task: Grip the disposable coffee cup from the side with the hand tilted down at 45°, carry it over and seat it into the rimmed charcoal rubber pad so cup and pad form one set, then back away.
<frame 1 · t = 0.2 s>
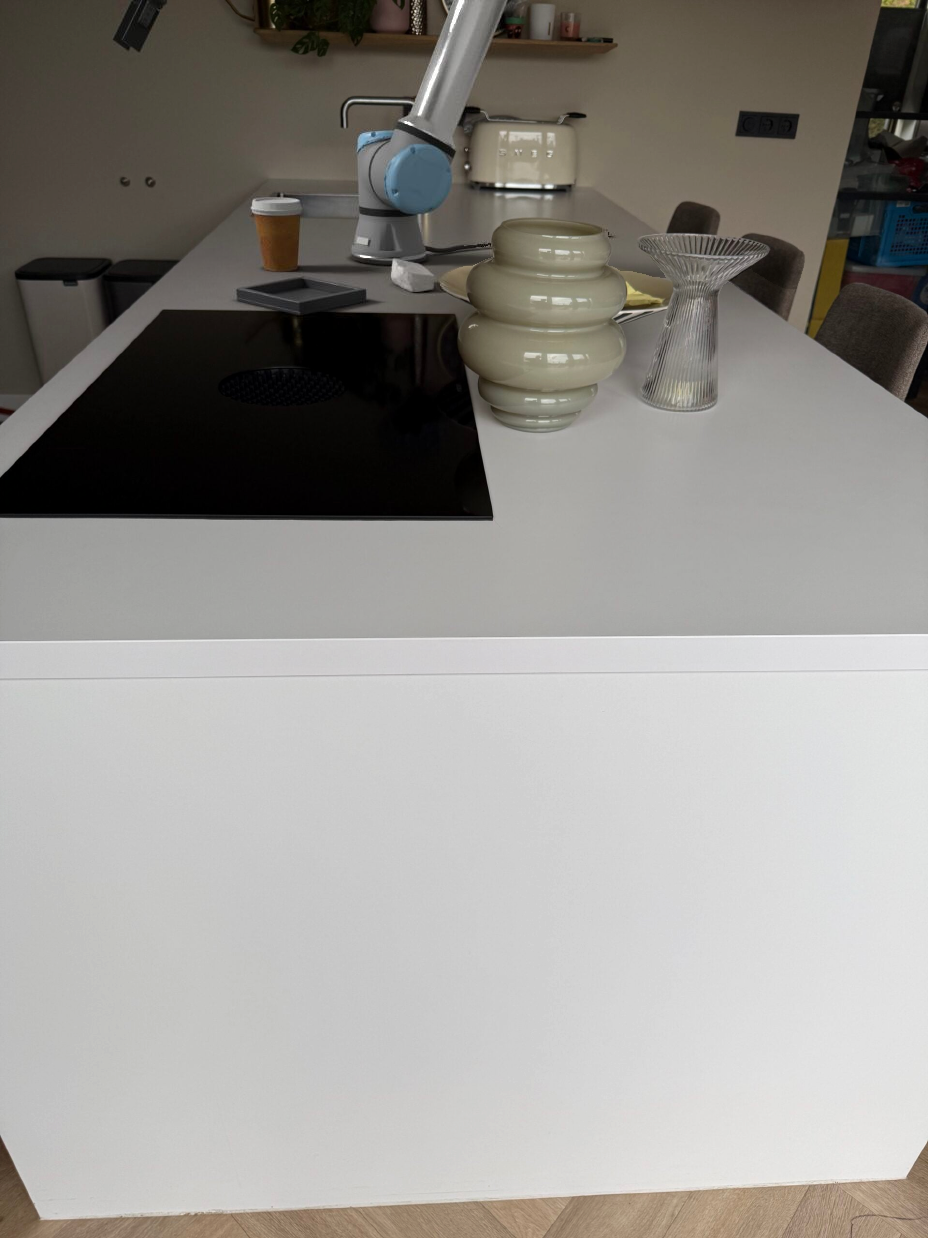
hand: (125, 45, 143), 35 cm above the table, tool tilted 35°, fingers open, 13 cm apart
disposable coffee cup: (281, 269, 176), on the table
pad: (302, 300, 152), on the table
white rock: (412, 288, 164), on the table
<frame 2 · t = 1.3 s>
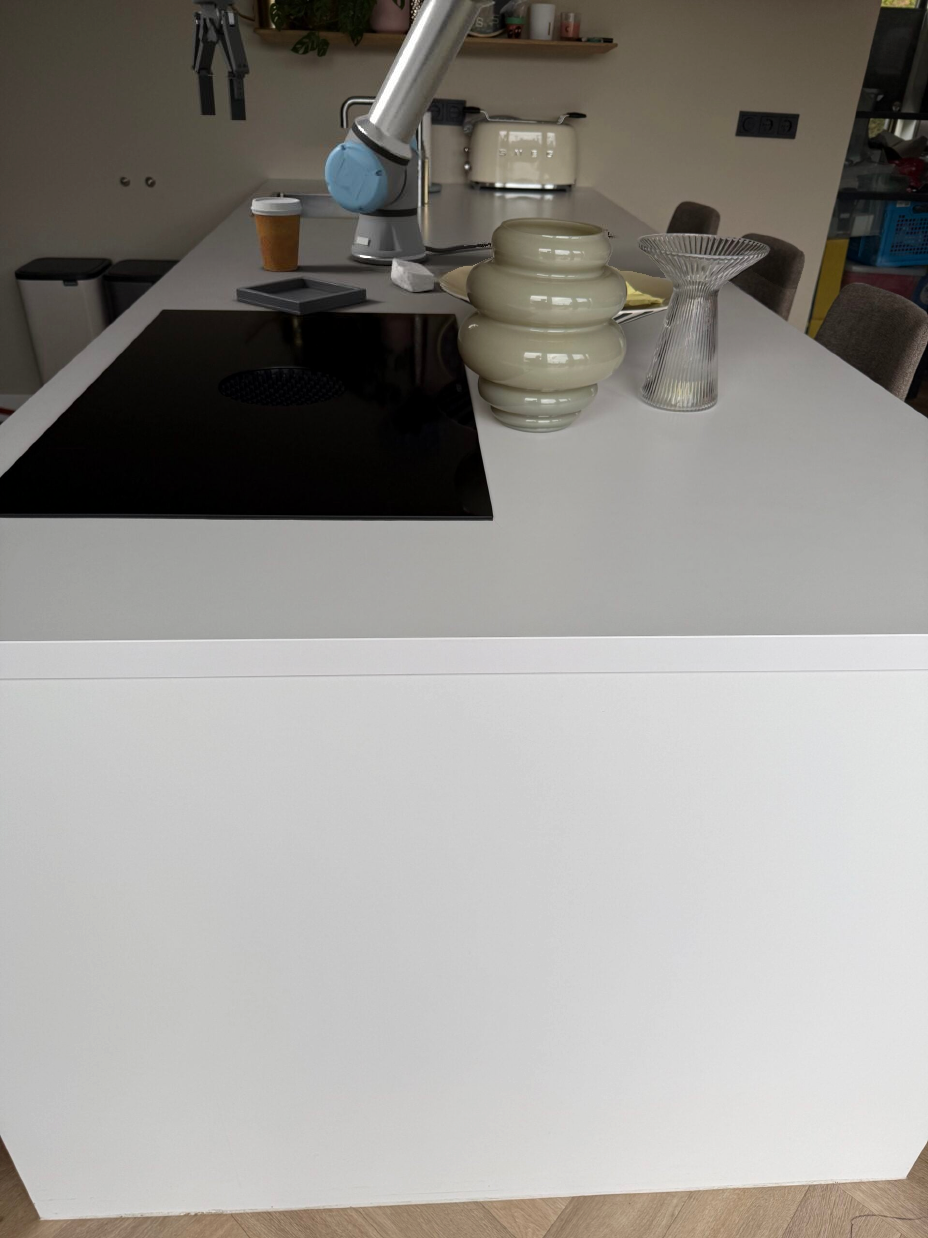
hand: (222, 117, 169), 25 cm above the table, tool pointing down, fingers open, 13 cm apart
nothing on the table moved.
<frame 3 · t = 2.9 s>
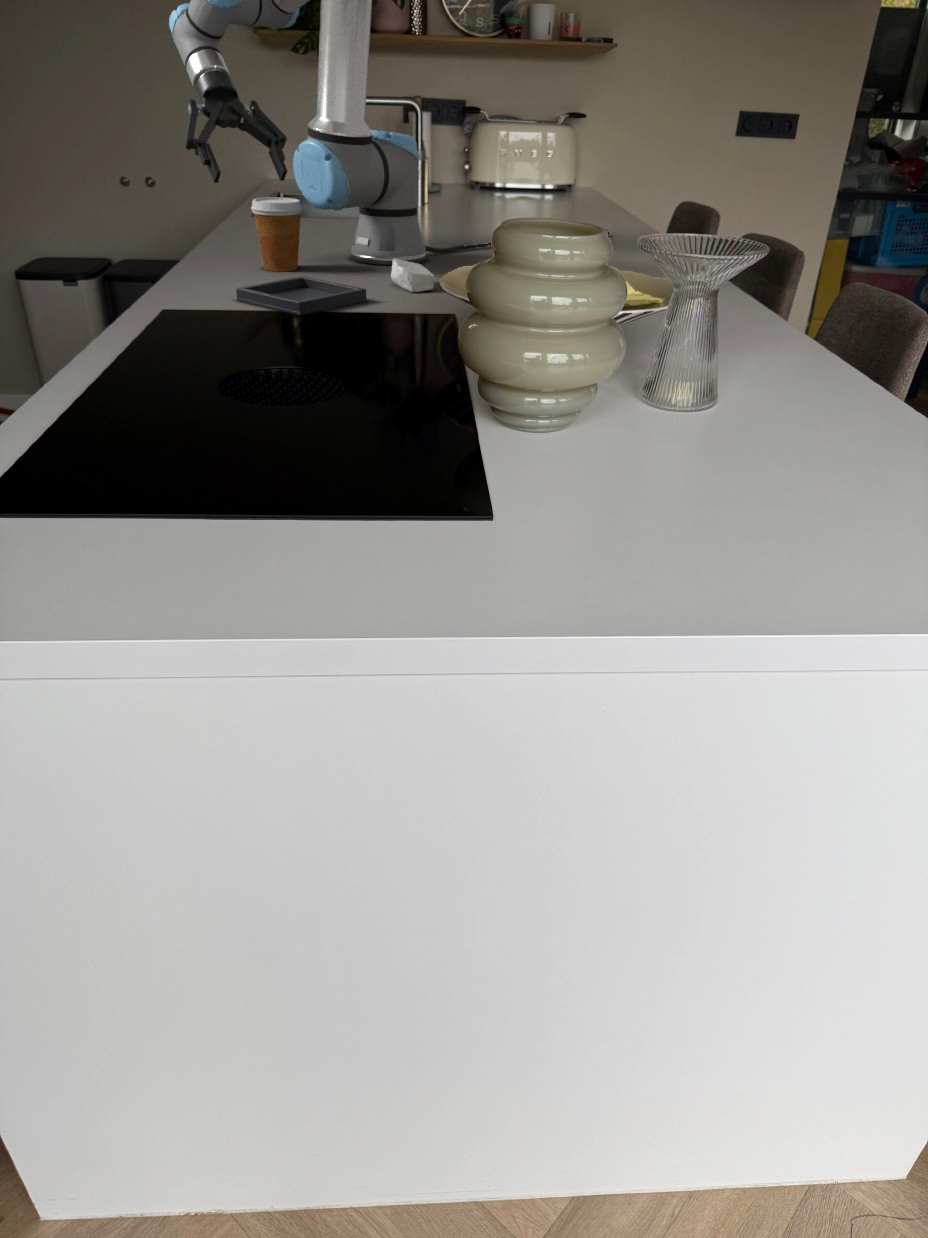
hand: (251, 176, 175), 15 cm above the table, tool tilted 45°, fingers open, 13 cm apart
nothing on the table moved.
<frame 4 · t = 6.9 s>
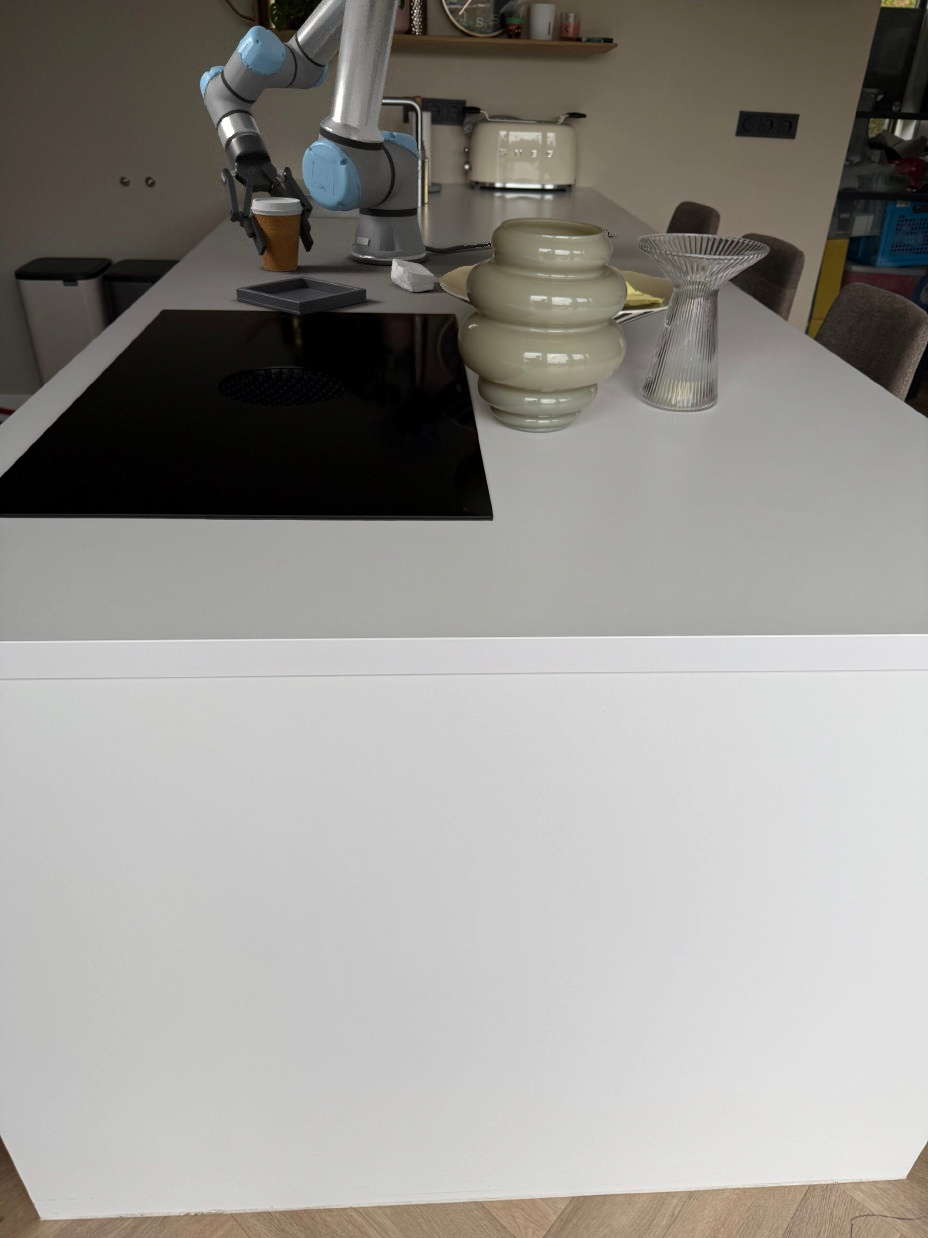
hand: (286, 248, 171), 4 cm above the table, tool tilted 45°, fingers closed on disposable coffee cup, 9 cm apart
disposable coffee cup: (281, 269, 176), on the table, touching gripper
everything else where it was.
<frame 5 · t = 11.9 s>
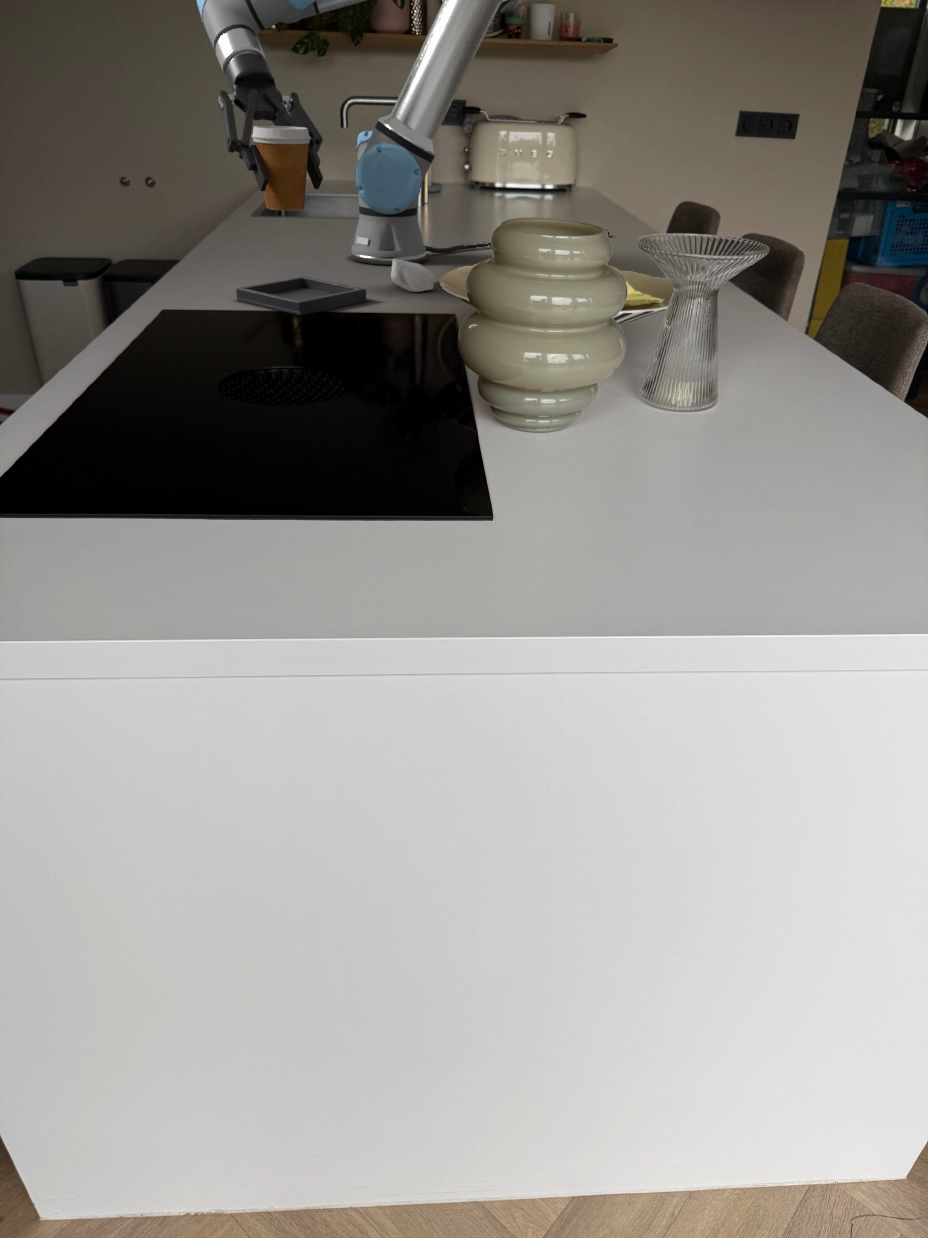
hand: (292, 184, 150), 17 cm above the table, tool tilted 45°, fingers closed on disposable coffee cup, 9 cm apart
disposable coffee cup: (285, 209, 154), point 13 cm above the table, touching gripper
everything else where it was.
when the fingers open (4 cm above the table, at t = 17.2 s): disposable coffee cup stays where it is, resting on pad.
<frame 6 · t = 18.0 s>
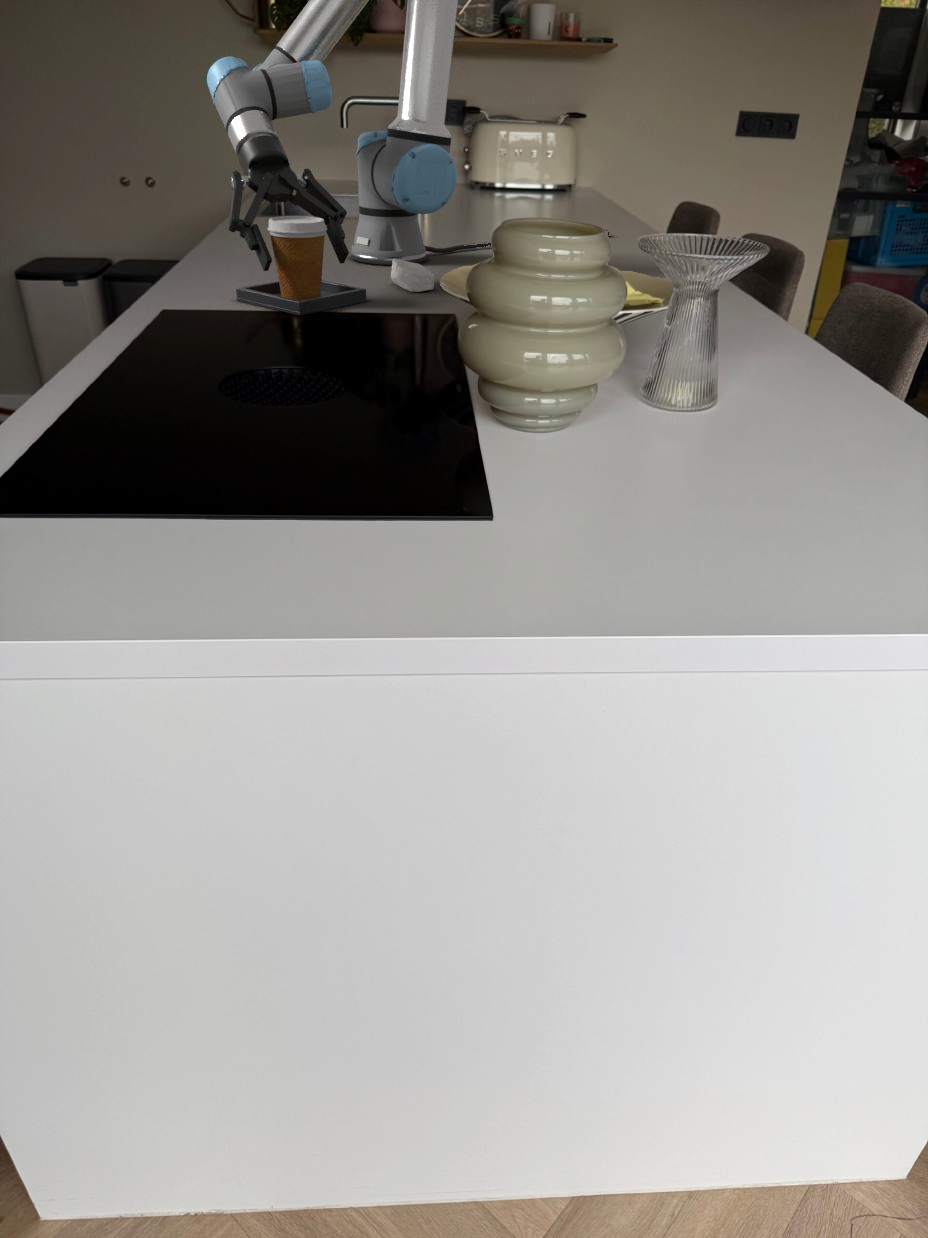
hand: (307, 261, 147), 6 cm above the table, tool tilted 45°, fingers open, 13 cm apart
disposable coffee cup: (301, 298, 151), resting on pad
everything else where it was.
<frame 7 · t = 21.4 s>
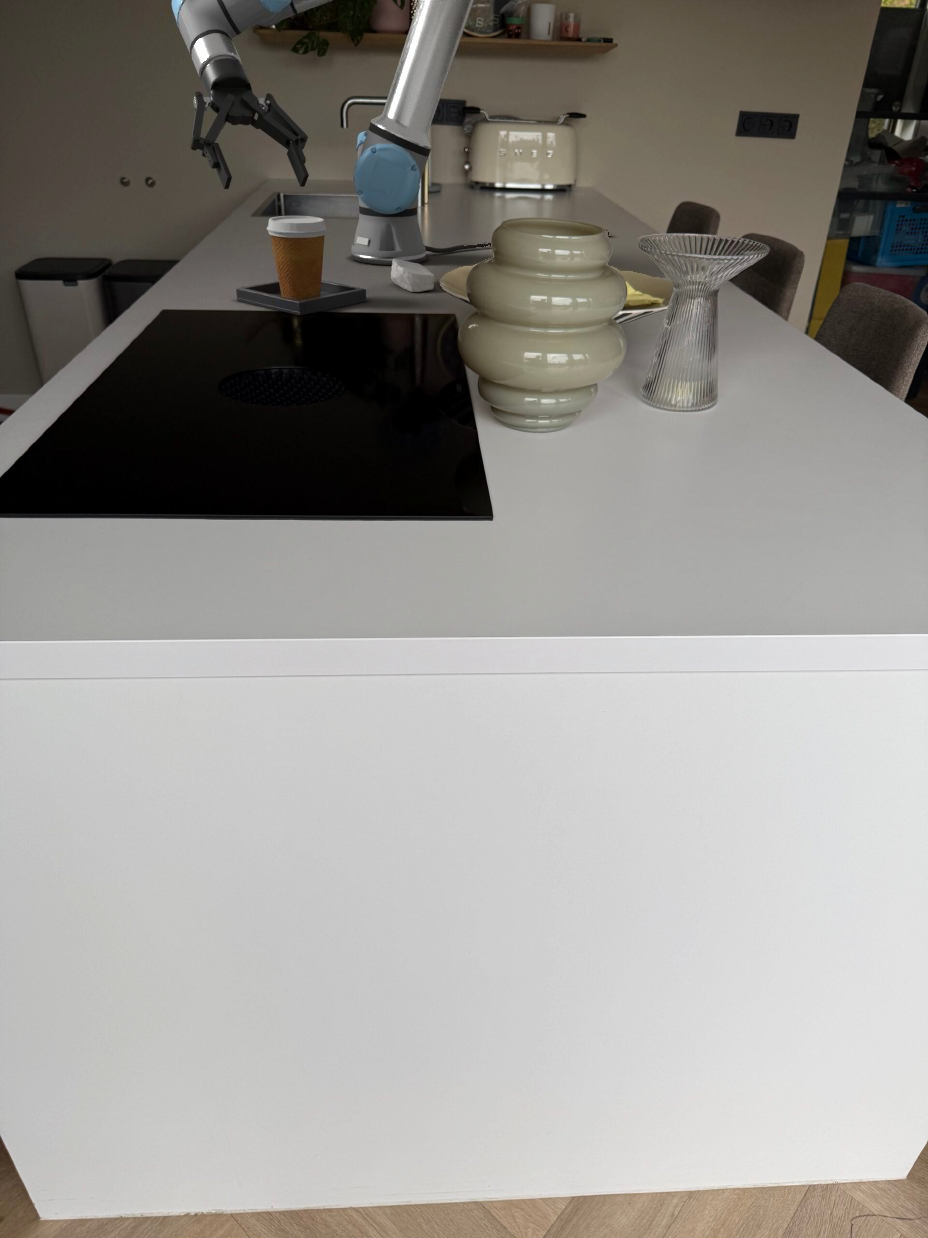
hand: (267, 182, 150), 17 cm above the table, tool tilted 45°, fingers open, 13 cm apart
nothing on the table moved.
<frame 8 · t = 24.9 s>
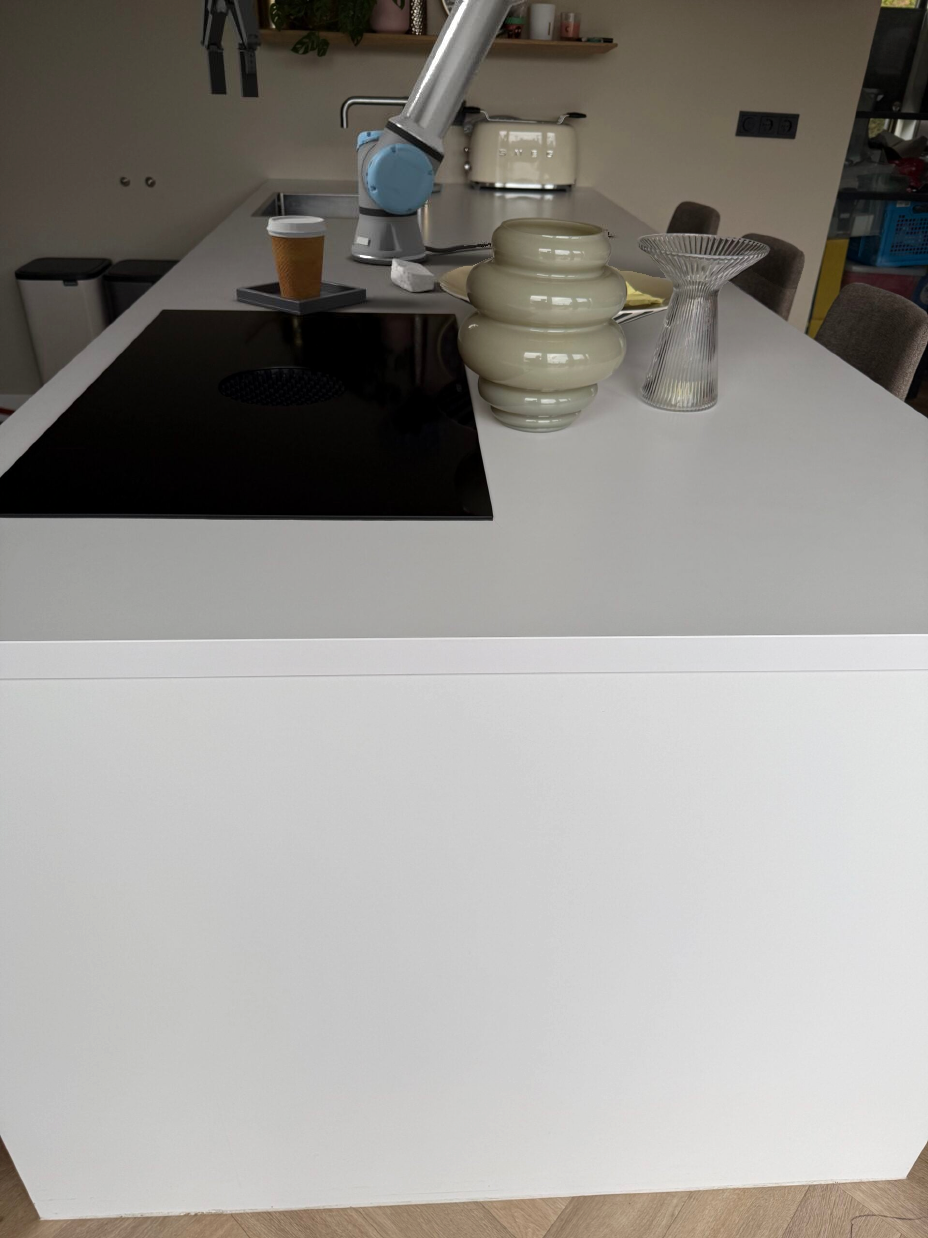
hand: (233, 95, 157), 29 cm above the table, tool pointing down, fingers open, 13 cm apart
nothing on the table moved.
at the end: disposable coffee cup 0.1 cm off-centre in the pad, point 0.3 cm above the pad's base; disposable coffee cup tilted 0°; the gripper is holding nothing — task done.
